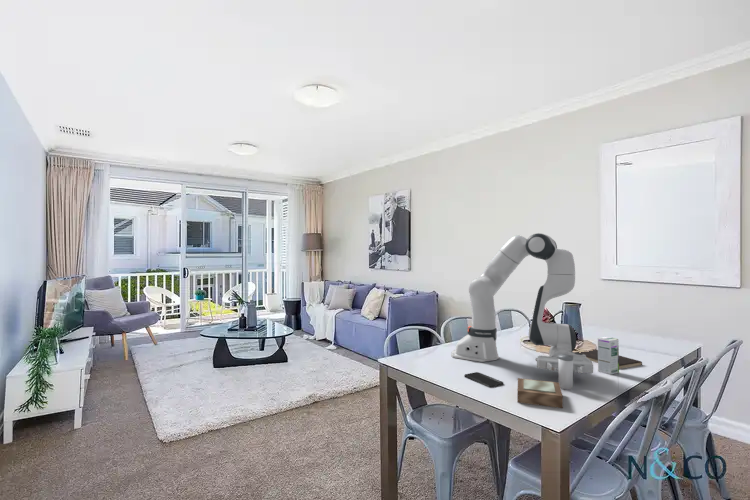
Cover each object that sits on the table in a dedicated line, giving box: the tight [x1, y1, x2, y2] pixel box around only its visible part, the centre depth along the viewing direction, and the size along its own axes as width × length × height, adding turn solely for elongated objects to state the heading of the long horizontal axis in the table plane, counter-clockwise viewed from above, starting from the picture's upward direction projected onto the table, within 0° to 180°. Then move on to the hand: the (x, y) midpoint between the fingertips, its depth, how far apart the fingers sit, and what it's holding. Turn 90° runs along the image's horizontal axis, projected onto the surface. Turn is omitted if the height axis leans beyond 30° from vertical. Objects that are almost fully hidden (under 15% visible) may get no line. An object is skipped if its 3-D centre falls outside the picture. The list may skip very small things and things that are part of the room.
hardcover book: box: [575, 349, 643, 370], centre depth 186 cm, size 16×23×2 cm
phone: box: [464, 371, 504, 388], centre depth 157 cm, size 8×1×15 cm
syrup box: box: [597, 336, 620, 376], centre depth 168 cm, size 6×6×14 cm
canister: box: [557, 354, 574, 391], centre depth 149 cm, size 5×5×12 cm
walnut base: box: [516, 377, 564, 409], centre depth 139 cm, size 14×14×4 cm
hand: (565, 369), depth 149 cm, fingers open, 8 cm apart
